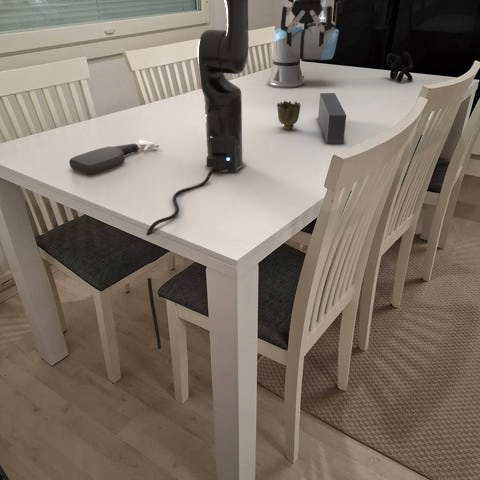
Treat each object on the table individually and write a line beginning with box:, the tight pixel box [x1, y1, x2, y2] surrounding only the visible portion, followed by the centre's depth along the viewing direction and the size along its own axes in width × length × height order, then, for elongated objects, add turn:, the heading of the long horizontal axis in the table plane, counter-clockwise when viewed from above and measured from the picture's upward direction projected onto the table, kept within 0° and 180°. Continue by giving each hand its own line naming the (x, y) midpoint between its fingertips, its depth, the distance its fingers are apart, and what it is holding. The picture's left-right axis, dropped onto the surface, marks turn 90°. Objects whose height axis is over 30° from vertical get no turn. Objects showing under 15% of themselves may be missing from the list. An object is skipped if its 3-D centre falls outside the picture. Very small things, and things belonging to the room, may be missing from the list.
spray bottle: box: [68, 139, 160, 177], centre depth 124 cm, size 3×11×24 cm
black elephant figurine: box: [385, 51, 414, 83], centre depth 198 cm, size 11×10×15 cm
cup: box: [276, 100, 302, 131], centre depth 143 cm, size 8×7×8 cm
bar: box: [317, 92, 347, 145], centre depth 141 cm, size 26×5×9 cm, turn 177°
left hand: (304, 46), depth 129 cm, fingers open, 8 cm apart
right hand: (316, 24), depth 152 cm, fingers open, 13 cm apart
